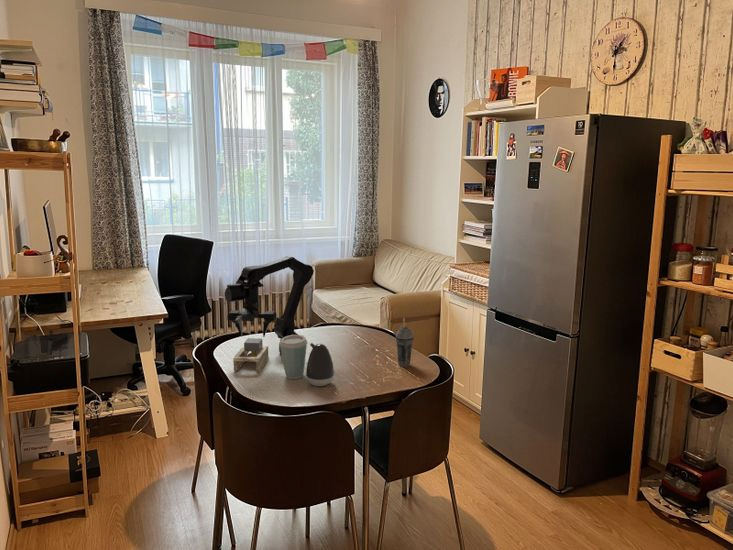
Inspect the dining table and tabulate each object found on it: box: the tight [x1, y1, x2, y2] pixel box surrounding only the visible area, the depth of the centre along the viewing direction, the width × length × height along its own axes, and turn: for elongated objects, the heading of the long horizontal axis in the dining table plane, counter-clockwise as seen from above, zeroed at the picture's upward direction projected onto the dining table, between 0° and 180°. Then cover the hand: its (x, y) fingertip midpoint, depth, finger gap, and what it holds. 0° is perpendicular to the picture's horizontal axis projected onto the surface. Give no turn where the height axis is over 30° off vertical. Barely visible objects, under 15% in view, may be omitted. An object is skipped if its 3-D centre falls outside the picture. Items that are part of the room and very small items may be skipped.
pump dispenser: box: [305, 342, 335, 387], centre depth 210 cm, size 10×10×15 cm
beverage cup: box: [395, 317, 414, 368], centre depth 230 cm, size 7×7×20 cm
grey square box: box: [243, 337, 264, 357], centre depth 233 cm, size 6×6×7 cm
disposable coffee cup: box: [278, 334, 308, 380], centre depth 218 cm, size 11×11×15 cm
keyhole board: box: [232, 345, 269, 373], centre depth 230 cm, size 10×16×6 cm, turn 177°
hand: (252, 336), depth 232 cm, fingers open, 9 cm apart
